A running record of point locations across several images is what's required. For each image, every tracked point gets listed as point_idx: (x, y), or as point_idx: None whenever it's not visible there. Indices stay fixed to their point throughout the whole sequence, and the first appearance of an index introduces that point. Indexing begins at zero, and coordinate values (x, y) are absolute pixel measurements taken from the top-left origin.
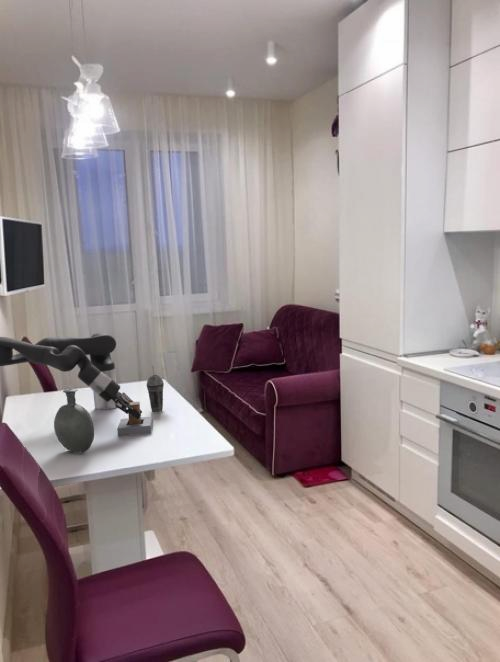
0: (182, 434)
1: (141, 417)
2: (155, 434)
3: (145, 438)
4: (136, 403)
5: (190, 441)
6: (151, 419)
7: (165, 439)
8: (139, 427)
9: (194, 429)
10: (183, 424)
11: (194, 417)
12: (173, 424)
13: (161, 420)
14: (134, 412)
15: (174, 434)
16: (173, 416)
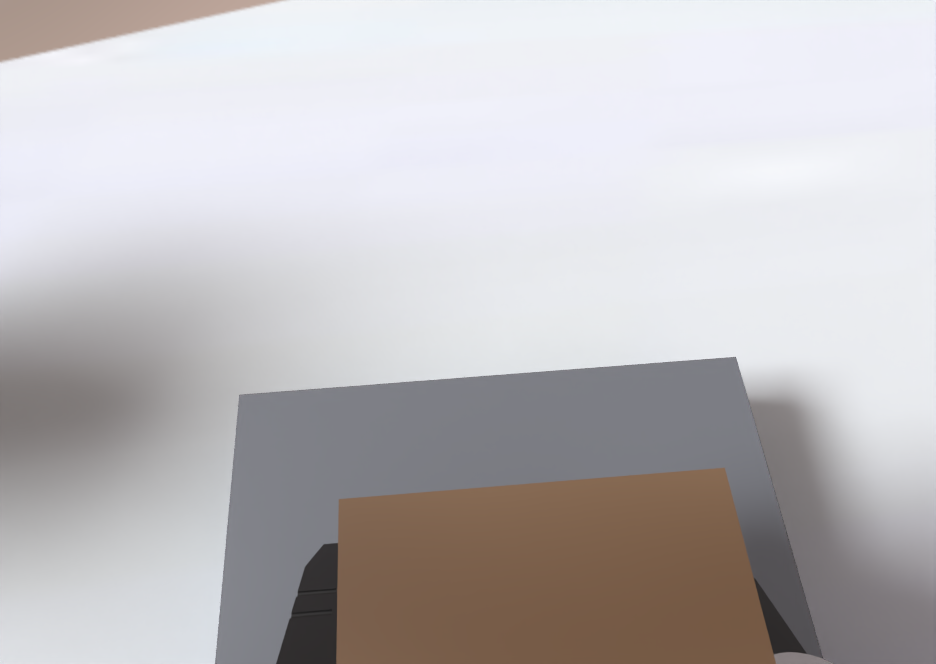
0: (738, 94)
1: (242, 580)
2: (734, 340)
3: (893, 441)
4: (618, 569)
5: (931, 28)
6: (417, 384)
7: (903, 219)
8: (776, 530)
9: (594, 20)
10: (413, 108)
11: (205, 40)
12: (385, 194)
13: (166, 338)
14: (773, 627)
15: (737, 156)
16: (59, 222)
